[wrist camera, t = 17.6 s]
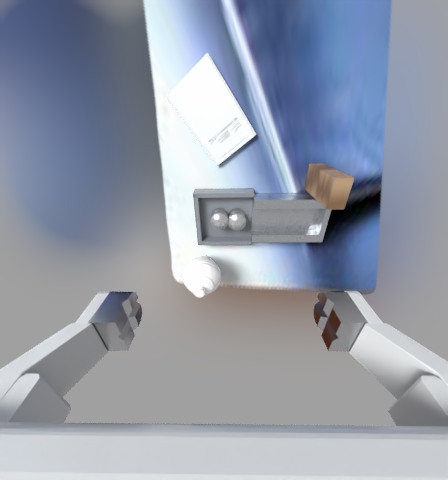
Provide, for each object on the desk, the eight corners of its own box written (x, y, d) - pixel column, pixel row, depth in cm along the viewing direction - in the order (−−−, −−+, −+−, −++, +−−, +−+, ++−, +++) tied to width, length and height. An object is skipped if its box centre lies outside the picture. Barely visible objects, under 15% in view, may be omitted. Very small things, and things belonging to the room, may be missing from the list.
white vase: (183, 245, 45) (171, 283, 34) (216, 237, 44) (213, 274, 33) (195, 270, 49) (187, 311, 38) (225, 264, 47) (225, 304, 37)
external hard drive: (208, 55, 28) (255, 133, 33) (168, 98, 31) (217, 164, 36) (207, 52, 27) (256, 134, 32) (165, 97, 30) (217, 166, 35)
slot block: (252, 193, 38) (254, 200, 35) (326, 192, 38) (334, 199, 35) (250, 234, 43) (251, 242, 40) (315, 233, 43) (322, 242, 40)
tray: (195, 189, 38) (193, 193, 36) (252, 188, 38) (254, 192, 36) (199, 238, 44) (198, 244, 41) (249, 238, 44) (251, 244, 41)
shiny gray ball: (211, 207, 39) (210, 213, 37) (228, 208, 39) (228, 214, 37) (211, 222, 41) (210, 229, 38) (227, 223, 41) (227, 230, 38)
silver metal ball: (226, 209, 39) (226, 216, 37) (243, 206, 39) (244, 213, 37) (229, 224, 41) (230, 232, 39) (246, 222, 41) (247, 229, 38)
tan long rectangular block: (309, 163, 35) (335, 178, 27) (323, 163, 35) (354, 178, 27) (304, 188, 38) (326, 209, 29) (317, 188, 38) (344, 209, 29)
